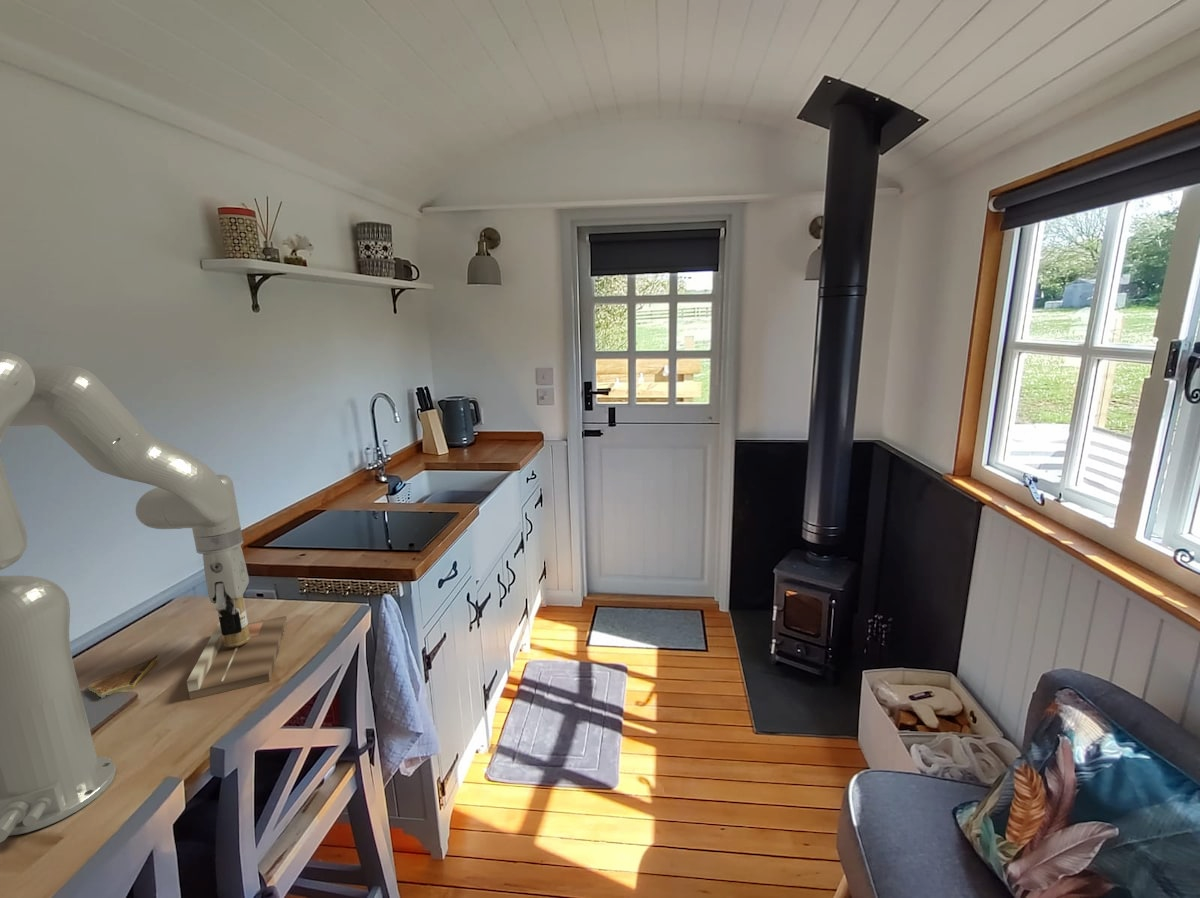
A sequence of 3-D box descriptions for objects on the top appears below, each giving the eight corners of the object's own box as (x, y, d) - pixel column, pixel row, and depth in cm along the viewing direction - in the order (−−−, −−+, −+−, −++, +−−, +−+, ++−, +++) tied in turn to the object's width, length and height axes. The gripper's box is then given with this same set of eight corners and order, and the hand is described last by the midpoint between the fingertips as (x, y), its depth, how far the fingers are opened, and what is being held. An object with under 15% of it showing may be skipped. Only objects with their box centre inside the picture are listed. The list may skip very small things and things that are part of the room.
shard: (159, 661, 110) (157, 653, 110) (176, 672, 106) (174, 663, 106) (88, 691, 101) (86, 682, 101) (104, 704, 97) (101, 695, 97)
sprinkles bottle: (230, 650, 108) (217, 585, 106) (220, 644, 111) (208, 580, 108) (255, 640, 112) (244, 576, 109) (245, 633, 114) (234, 572, 112)
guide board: (269, 681, 101) (266, 663, 100) (190, 699, 96) (186, 681, 96) (287, 622, 123) (284, 607, 122) (223, 635, 118) (220, 619, 118)
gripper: (231, 550, 101) (248, 643, 104) (250, 524, 116) (264, 605, 120) (182, 558, 98) (201, 653, 102) (207, 530, 113) (223, 613, 117)
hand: (235, 626), depth 111 cm, fingers closed on sprinkles bottle, 4 cm apart
